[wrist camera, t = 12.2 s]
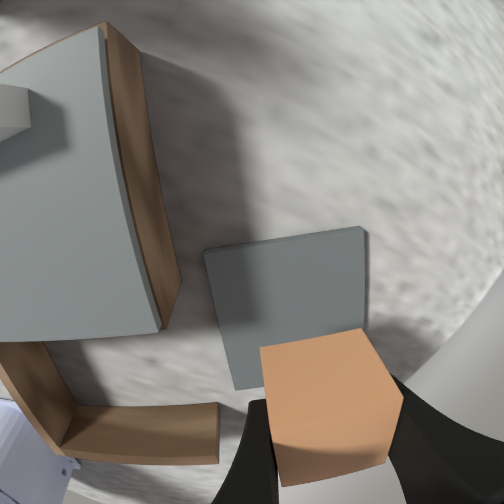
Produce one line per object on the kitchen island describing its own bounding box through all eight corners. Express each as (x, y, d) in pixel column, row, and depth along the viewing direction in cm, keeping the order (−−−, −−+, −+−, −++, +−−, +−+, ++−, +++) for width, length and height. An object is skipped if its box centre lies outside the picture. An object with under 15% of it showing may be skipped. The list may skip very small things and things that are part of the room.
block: (356, 396, 13) (384, 462, 9) (271, 414, 13) (281, 487, 9) (360, 327, 12) (403, 397, 8) (259, 347, 12) (270, 428, 8)
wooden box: (220, 411, 20) (219, 463, 15) (74, 413, 19) (55, 454, 15) (139, 51, 12) (106, 20, 8) (-28, 126, 12) (-77, 130, 8)
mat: (358, 361, 19) (361, 367, 18) (235, 384, 19) (235, 390, 18) (359, 225, 16) (363, 228, 15) (204, 249, 16) (203, 254, 15)
